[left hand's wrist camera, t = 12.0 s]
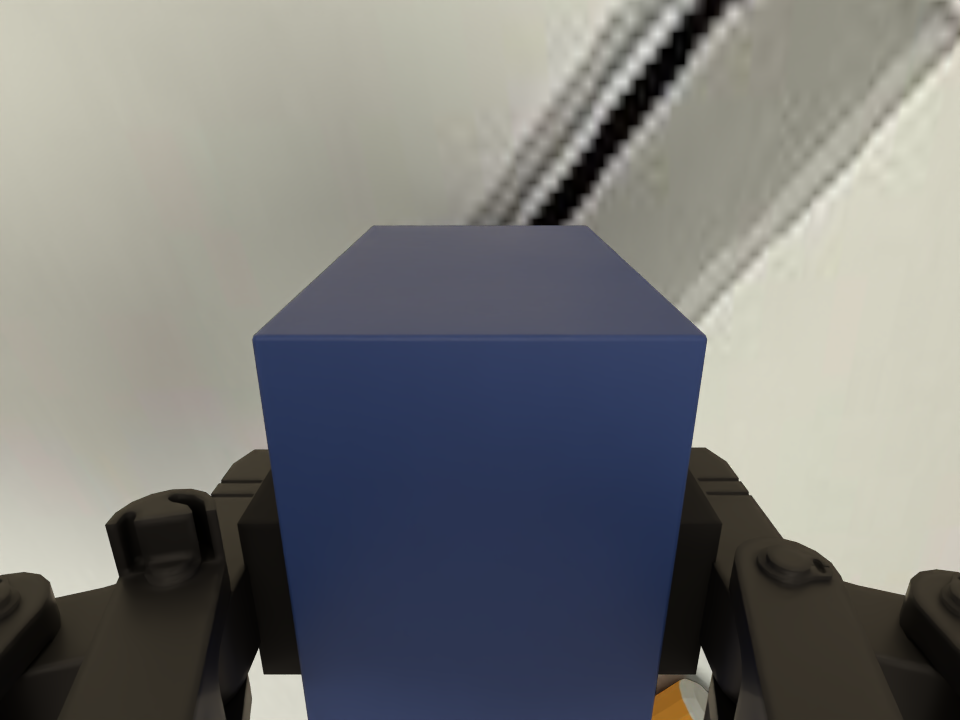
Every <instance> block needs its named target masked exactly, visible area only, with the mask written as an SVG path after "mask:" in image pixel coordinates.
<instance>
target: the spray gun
mask: <svg viewBox="0 0 960 720" xmlns="http://www.w3.org/2000/svg"><path fill="white" fill-rule="evenodd" d="M707 698H708V692H707V691H706V690H705V689H704V688H703V687H702V686H701V685H699V684H697V683H696V682H693V681H691V680H688V679H682V680H679V681H678V682H676V683H675V684H673V685H672V686H670V687H668V688H667V689H665V690H664V691H662V692H661V693H659V694H657V695H656V696H655V699H654V706H653V713H652V719H651V720H703V719H704V714H705V709H706V703H707Z"/></svg>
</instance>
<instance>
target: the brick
mask: <svg viewBox="0 0 960 720" xmlns="http://www.w3.org/2000/svg"><path fill="white" fill-rule="evenodd" d="M252 341H253V348H254V355H255V361H256V368H257V375H258V382H259V389H260V396H261V402H262V409H263V416H264V423H265V430H266V436H267V443H268V450H269V457H270V464H271V470H272V477H273V484H274V491H275V498H276V505H277V511H278V518H279V525H280V532H281V539H282V545H283V552H284V559H285V566H286V573H287V579H288V586H289V593H290V600H291V607H292V614H293V620H294V627H295V634H296V641H297V648H298V654H299V661H300V668H301V675H302V682H303V688H304V695H305V702H306V709H307V716H308V720H651V719H652V713H653V706H654V699H655V692H656V685H657V678H658V672H659V665H660V658H661V651H662V644H663V637H664V631H665V624H666V617H667V610H668V603H669V596H670V590H671V583H672V576H673V569H674V562H675V555H676V549H677V542H678V535H679V528H680V521H681V514H682V508H683V501H684V494H685V487H686V480H687V473H688V467H689V460H690V453H691V446H692V439H693V432H694V426H695V419H696V412H697V405H698V398H699V391H700V385H701V378H702V371H703V364H704V357H705V351H706V344H707V338H706V335H705V334H704V333H702V332H701V331H700V330H699V329H698V328H697V327H696V326H695V325H694V324H693V323H692V322H691V321H689V320H688V319H687V318H686V317H685V316H684V315H683V314H682V313H681V312H680V311H679V310H678V309H676V308H675V307H674V306H673V305H672V304H671V303H670V302H669V301H668V300H667V299H666V298H665V297H663V296H662V295H661V294H660V293H659V292H658V291H657V290H656V289H655V288H654V287H653V286H652V285H650V284H649V283H648V282H647V281H646V280H645V279H644V278H643V277H642V276H641V275H640V274H638V273H637V272H636V271H635V270H634V269H633V268H632V267H631V266H630V265H629V264H628V263H627V262H625V261H624V260H623V259H622V258H621V257H620V256H619V255H618V254H617V253H616V252H615V251H614V250H612V249H611V248H610V247H609V246H608V245H607V244H606V243H605V242H604V241H603V240H602V239H601V238H599V237H598V236H597V235H596V234H595V233H594V232H593V231H592V230H591V229H590V228H589V227H588V226H372V227H371V228H370V229H369V230H368V231H367V232H366V233H365V234H363V235H362V236H361V237H360V238H359V239H358V240H357V241H356V242H355V243H354V244H353V245H352V246H350V247H349V248H348V249H347V250H346V251H345V252H344V253H343V254H342V255H341V256H340V257H338V258H337V259H336V260H335V261H334V262H333V263H332V264H331V265H330V266H329V267H328V268H327V269H325V270H324V271H323V272H322V273H321V274H320V275H319V276H318V277H317V278H316V279H315V280H313V281H312V282H311V283H310V284H309V285H308V286H307V287H306V288H305V289H304V290H303V291H302V292H300V293H299V294H298V295H297V296H296V297H295V298H294V299H293V300H292V301H291V302H290V303H288V304H287V305H286V306H285V307H284V308H283V309H282V310H281V311H280V312H279V313H278V314H277V315H275V316H274V317H273V318H272V319H271V320H270V321H269V322H268V323H267V324H266V325H265V326H263V327H262V328H261V329H260V330H259V331H258V332H257V333H256V334H255V335H254V336H253V339H252Z"/></svg>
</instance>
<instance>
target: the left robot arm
mask: <svg viewBox="0 0 960 720" xmlns="http://www.w3.org/2000/svg"><path fill="white" fill-rule="evenodd" d="M105 526H106V530H107V534H108V537H109V541H110V545H111V548H112V552H113V556H114V559H115V563H116V567H117V570H118V574H119V579H118V581H117V583H116V584H114V585H111V586H107V587H104V588H100V589H95V590H90V591H86V592H81V593H77V594H72V595H67V596H63V597H58V598H55V597H54V594H53V591H52V588H51V585H50V582H49V581H48V580H47V579H45V578H44V577H43V576H42V575H40V574H34V573H27V572H21V573H13V574H5V575H0V720H250V712H251V703H252V695H251V688H250V682H249V677H248V672H249V670H250V667H251V665H252V663H253V660H254V658H255V655H256V653H257V651H258V648H259V650H260V656H261V661H262V667H263V673H264V674H301V668H300V661H299V654H298V648H297V641H296V634H295V627H294V620H293V614H292V607H291V600H290V593H289V586H288V579H287V573H286V566H285V559H284V552H283V545H282V539H281V532H280V525H279V518H278V511H277V505H276V498H275V491H274V484H273V477H272V470H271V464H270V457H269V450H253V451H252V452H250V453H249V454H247V455H246V456H244V457H243V458H241V459H240V460H238V461H237V462H235V463H234V464H233V465H232V466H231V468H230V469H229V470H228V472H227V473H226V475H225V476H224V477H223V479H222V480H221V483H219V484H218V485H217V487H216V488H215V490H214V491H213V492H212V494H211V496H210V495H209V494H207V493H206V492H202V491H198V490H194V489H172V490H168V491H163V492H159V493H154V494H151V495H148V496H146V497H143V498H141V499H138V500H136V501H134V502H131V503H130V504H128V505H127V506H125V507H124V508H122V509H121V510H119V511H118V512H116V513H115V514H114V515H113V516H112V518H111V519H110V520H109V521H108V522H107V523H106V525H105ZM701 646H702V649H703V651H704V653H705V656H706V658H707V660H708V663H709V665H710V667H711V670H712V677H711V682H710V688H709V693H708V698H707V703H706V709H705V714H704V719H703V720H960V573H959V572H953V571H945V570H937V569H936V570H929V571H922V572H919V573H918V574H917V575H915V576H914V577H913V578H912V579H911V580H910V583H909V586H908V589H907V592H906V595H900V594H896V593H891V592H886V591H882V590H877V589H872V588H868V587H863V586H858V585H855V584H851V583H848V582H844V581H843V580H842V577H841V576H840V574H839V573H838V571H837V570H836V569H835V567H834V566H833V564H832V563H831V562H830V561H828V560H827V559H826V558H824V557H823V556H822V555H820V554H819V553H818V552H816V551H815V550H812V549H810V548H808V547H806V546H804V545H802V544H800V543H797V542H794V541H790V540H786V539H783V538H782V536H781V535H780V534H779V532H778V531H777V530H776V528H775V527H774V526H773V524H772V523H771V521H770V520H769V519H768V517H767V516H766V515H765V513H764V512H763V511H762V509H761V508H760V507H759V505H758V504H757V502H756V501H755V500H754V498H753V497H752V496H751V495H749V492H748V490H747V489H746V488H745V486H744V485H743V483H742V482H741V481H739V478H738V477H737V475H736V474H735V473H734V471H733V470H732V469H731V467H730V466H729V464H728V463H727V462H726V461H725V460H723V459H722V458H720V457H719V456H717V455H716V454H714V453H713V452H711V451H710V450H708V449H707V448H691V453H690V460H689V467H688V473H687V480H686V487H685V494H684V501H683V508H682V514H681V521H680V528H679V535H678V542H677V549H676V555H675V562H674V569H673V576H672V583H671V590H670V596H669V603H668V610H667V617H666V624H665V631H664V637H663V644H662V651H661V658H660V665H659V672H658V674H696V670H697V665H698V659H699V653H700V648H701Z"/></svg>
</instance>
